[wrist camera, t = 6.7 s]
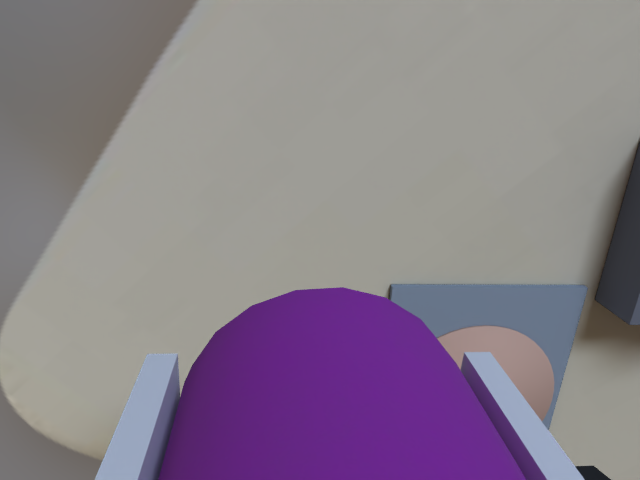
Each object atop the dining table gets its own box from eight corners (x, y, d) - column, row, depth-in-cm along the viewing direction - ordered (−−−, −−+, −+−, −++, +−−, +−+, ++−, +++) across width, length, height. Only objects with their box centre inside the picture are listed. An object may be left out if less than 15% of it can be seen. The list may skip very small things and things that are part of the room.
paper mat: (390, 284, 27) (393, 289, 27) (583, 285, 29) (590, 289, 28) (365, 493, 33) (367, 501, 32) (528, 485, 34) (533, 492, 34)
